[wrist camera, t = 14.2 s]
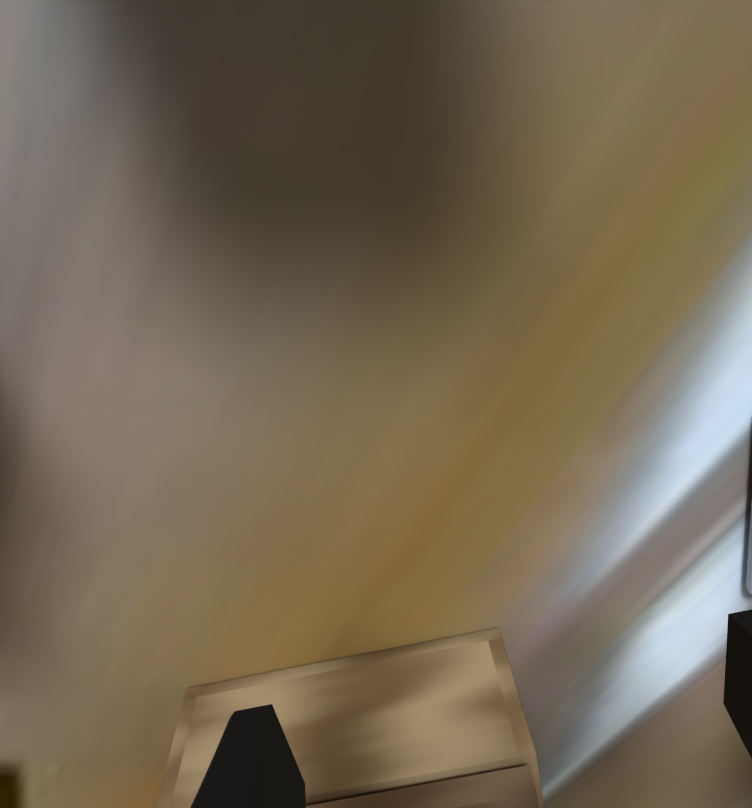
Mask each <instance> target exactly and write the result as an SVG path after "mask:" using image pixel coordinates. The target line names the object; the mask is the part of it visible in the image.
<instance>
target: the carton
mask: <svg viewBox="0 0 752 808" xmlns="http://www.w3.org/2000/svg"><path fill="white" fill-rule="evenodd" d="M269 704H272V705H273V708H274V710H275V712H276V715H277V717H278V720H279V722H280V724H281V727H282V729H283V732H284V734H285V736H286V739H287V741H288V744H289V746H290V748H291V751H292V753H293V756H294V758H295V760H296V763H297V765H298V768H299V770H300V772H301V775H302V777H303V780H304V782H305V795H306V806H310V805H315V804H320V803H326V802H331V801H337V800H342V799H348V798H353V797H359V796H364V795H369V794H375V793H380V792H386V791H391V790H397V789H402V788H407V787H413V786H418V785H424V784H429V783H435V782H440V781H445V780H451V779H456V778H462V777H467V776H473V775H478V774H483V773H489V772H494V771H500V770H505V769H511V768H516V767H521V766H527V765H529V767H530V770H531V774H532V777H533V781H534V784H535V788H536V792H537V798H538V804H539V808H544V803H543V796H542V789H541V783H540V776H539V769H538V763H537V756H536V751H535V748H534V745H533V741H532V738H531V735H530V731H529V728H528V725H527V721H526V718H525V715H524V711H523V708H522V705H521V701H520V698H519V695H518V691H517V688H516V684H515V681H514V678H513V674H512V671H511V668H510V664H509V661H508V658H507V654H506V651H505V648H504V644H503V641H502V638H501V634H500V631H499V628H495V629H489V630H484V631H479V632H474V633H469V634H464V635H458V636H453V637H448V638H443V639H438V640H433V641H428V642H422V643H417V644H412V645H407V646H402V647H397V648H392V649H386V650H381V651H376V652H371V653H366V654H361V655H356V656H350V657H345V658H340V659H335V660H330V661H325V662H319V663H314V664H309V665H304V666H299V667H294V668H289V669H283V670H278V671H273V672H268V673H263V674H258V675H253V676H247V677H242V678H237V679H232V680H227V681H222V682H216V683H211V684H206V685H201V686H196V687H191V688H187V689H186V693H185V696H184V700H183V704H182V708H181V712H180V716H179V720H178V724H177V727H176V731H175V735H174V739H173V743H172V747H171V751H170V755H169V759H168V762H167V766H166V770H165V774H164V778H163V782H162V786H161V790H160V794H159V797H158V801H157V805H156V808H190V807H191V805H192V803H193V801H194V799H195V796H196V794H197V792H198V790H199V788H200V785H201V783H202V781H203V779H204V777H205V774H206V772H207V770H208V768H209V765H210V763H211V761H212V758H213V756H214V754H215V751H216V749H217V747H218V745H219V742H220V740H221V738H222V735H223V733H224V730H225V728H226V726H227V723H228V721H229V719H230V717H231V715H232V714H233V713H234V712H235V711H238V710H243V709H249V708H254V707H259V706H264V705H269Z"/></svg>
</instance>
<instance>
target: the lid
mask: <svg viewBox="0 0 752 808" xmlns="http://www.w3.org/2000/svg"><path fill="white" fill-rule="evenodd" d="M306 808H539V804H538V798H537V792H536V788H535V784H534V781H533V777H532V774H531V770H530V767H529V765H527V766H521V767H516V768H511V769H505V770H500V771H494V772H489V773H483V774H478V775H473V776H467V777H462V778H456V779H451V780H445V781H440V782H435V783H429V784H424V785H418V786H413V787H407V788H402V789H397V790H391V791H386V792H380V793H375V794H369V795H364V796H359V797H353V798H348V799H342V800H337V801H331V802H326V803H320V804H315V805H310V806H306Z"/></svg>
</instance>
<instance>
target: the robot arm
mask: <svg viewBox="0 0 752 808" xmlns="http://www.w3.org/2000/svg"><path fill="white" fill-rule="evenodd" d="M746 589H747V590H748V591H749V593H750V594H751V595H752V501H751V516H750V530H749V545H748V560H747V575H746ZM724 705H725V707H726V709H727V711H728V713H729V715H730V717H731V719H732V721H733V723H734V725H735V727H736V729H737V731H738V733H739V735H740V737H741V739H742V741H743V743H744V745H745V747H746V749H747V750H748V752H749V754H750V756H751V758H752V610H747V611H742V612H737V613H732V614H728V633H727V651H726V669H725V687H724ZM190 808H306V795H305V782H304V780H303V777H302V775H301V772H300V770H299V768H298V765H297V763H296V760H295V758H294V756H293V753H292V751H291V748H290V746H289V744H288V741H287V739H286V736H285V734H284V732H283V729H282V727H281V724H280V722H279V720H278V717H277V715H276V712H275V710H274V708H273V705H272V704H269V705H264V706H259V707H254V708H249V709H243V710H238V711H235V712H234V713H233V714H232V715H231V717H230V719H229V721H228V723H227V726H226V728H225V730H224V733H223V735H222V738H221V740H220V742H219V745H218V747H217V749H216V751H215V754H214V756H213V758H212V761H211V763H210V765H209V768H208V770H207V772H206V774H205V777H204V779H203V781H202V783H201V785H200V788H199V790H198V792H197V794H196V796H195V799H194V801H193V803H192V805H191V807H190Z"/></svg>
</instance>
